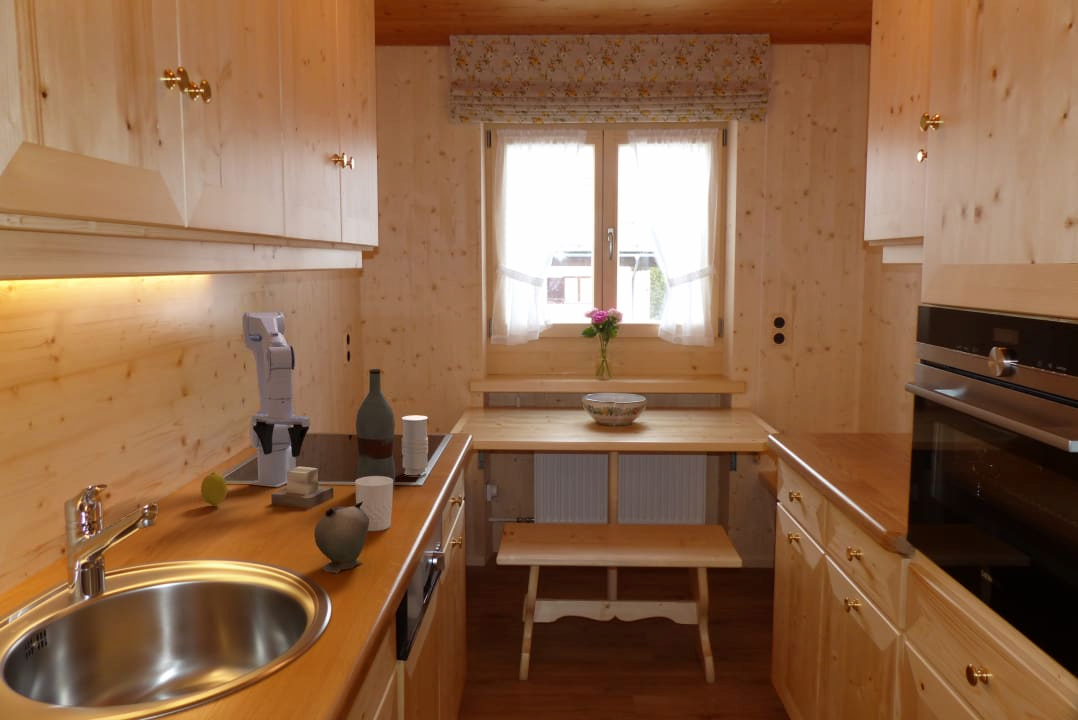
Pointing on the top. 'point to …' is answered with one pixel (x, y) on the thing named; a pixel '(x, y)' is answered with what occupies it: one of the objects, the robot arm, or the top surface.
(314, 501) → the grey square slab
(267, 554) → the top surface
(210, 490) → the lemon
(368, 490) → the white cup
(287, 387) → the robot arm
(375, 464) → the bottle
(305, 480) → the maple cube
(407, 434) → the stack of cups
